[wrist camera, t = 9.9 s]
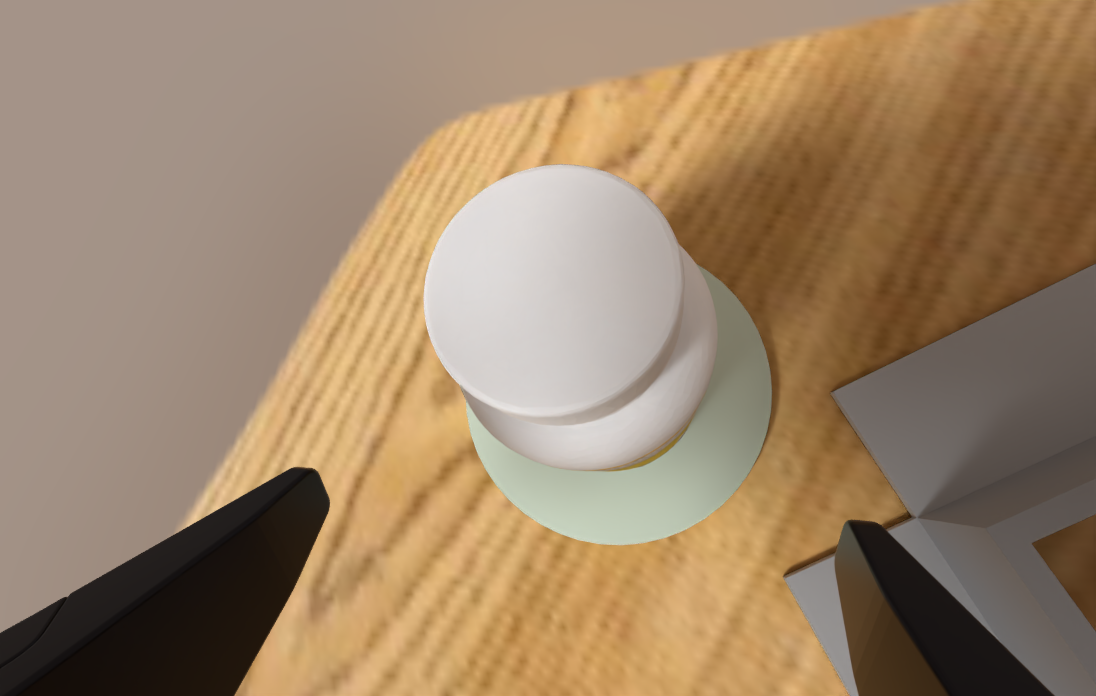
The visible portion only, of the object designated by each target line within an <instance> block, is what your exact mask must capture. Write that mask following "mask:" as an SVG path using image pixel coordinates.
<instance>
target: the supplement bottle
mask: <svg viewBox="0 0 1096 696" xmlns="http://www.w3.org/2000/svg"><path fill="white" fill-rule="evenodd" d="M424 313H425V319H426V325H427V329H428V333H429V336H430V340H431V342H432V344H433V347H434V349H435V351H436V354H437V356H438V357H439V359H440V361H441V362H442V364H443V366H444V367H445V368H446V370H447V371H448V372H449V374H450V375H451V376H452V377H453V379H454V380H455V381H456V382H457V383H458V384H459V385H460V388H461V390H462V392H463V395H464V397H465V399H466V401H467V403H468V404H469V406H470V408H471V409H472V411H473V413H474V414H475V416H476V417H477V419H478V420H479V421H480V422H481V424H482V425H483V426H484V427H485V428H486V429H487V430H488V431H489V432H490V433H491V434H492V435H493V436H494V437H495V438H496V439H497V440H499V441H500V442H501V443H502V444H504V445H505V446H506V447H508V448H509V449H511V450H513V451H515V452H516V453H518V454H520V455H522V456H524V457H526V458H528V459H530V460H533V461H535V462H538V463H541V464H544V465H548V466H551V467H555V468H560V469H566V470H576V471H608V472H610V471H623V470H629V469H633V468H637V467H642V466H644V465H646V464H648V463H651V462H653V461H654V460H656V459H658V458H659V457H661V456H662V455H663V454H665V453H666V452H668V451H669V450H670V449H671V448H672V447H673V446H674V445H675V444H676V443H677V442H678V441H679V440H680V439H681V438H682V437H683V435H684V434H685V432H686V431H687V429H688V427H689V425H690V423H691V421H692V419H693V417H694V415H695V413H696V411H697V409H698V407H699V405H700V403H701V401H702V399H703V397H704V395H705V393H706V390H707V388H708V386H709V382H710V379H711V375H712V372H713V368H714V363H715V358H716V351H717V340H718V331H717V319H716V312H715V308H714V304H713V300H712V296H711V293H710V291H709V288H708V286H707V283H706V280H705V278H704V277H703V275H702V273H701V271H700V270H699V268H698V266H697V265H696V263H695V262H694V260H693V259H692V258H691V257H690V255H689V254H688V253H687V252H686V251H685V250H684V248H683V247H681V246H680V245H679V244H678V242H677V239H676V237H675V235H674V233H673V231H672V228H671V226H670V225H669V223H668V221H667V219H666V218H665V216H664V215H663V213H662V212H661V211H660V210H659V208H658V207H657V206H656V205H655V204H654V203H653V201H652V200H651V199H650V198H648V197H647V196H646V195H645V194H644V193H643V192H642V191H640V190H639V189H638V188H636V187H635V186H634V185H632V184H630V183H628V182H627V181H625V180H623V179H622V178H620V177H618V176H615V175H613V174H610V173H608V172H605V171H602V170H599V169H596V168H591V167H587V166H579V165H568V164H557V165H547V166H540V167H535V168H530V169H527V170H524V171H521V172H517V173H515V174H512V175H509V176H507V177H505V178H503V179H500V180H498V181H497V182H495V183H493V184H492V185H490V186H489V187H487V188H485V189H484V190H482V191H481V192H480V193H478V194H477V195H476V196H474V197H473V198H472V199H471V200H470V201H469V202H468V203H467V204H466V205H465V206H464V207H463V208H462V209H461V210H460V211H459V212H458V213H457V214H456V215H455V217H454V218H453V219H452V220H451V222H450V223H449V224H448V226H447V227H446V229H445V230H444V232H443V234H442V235H441V237H440V239H439V240H438V243H437V245H436V247H435V250H434V252H433V254H432V257H431V260H430V263H429V266H428V270H427V273H426V279H425V287H424Z"/></svg>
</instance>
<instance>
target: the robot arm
mask: <svg viewBox="0 0 1096 696" xmlns="http://www.w3.org/2000/svg"><path fill="white" fill-rule="evenodd" d="M329 507H330V499H329V496H328V494H327V492H326V489H325V487H324V484H323V482H322V480H321V477H320V475H319V473H318V472H317V471H316V470H315V469H313V468H305V467H294V468H291V469H289V470H287V471H285V472H284V473H282V474H280V475H278V476H277V477H275V478H273V479H271V480H269V481H268V482H266V483H264V484H262V485H261V486H259V487H257V488H255V489H254V490H252V491H250V492H248V493H247V494H245V495H243V496H241V497H240V498H238V499H236V500H234V501H233V502H231V503H229V504H227V505H226V506H224V507H222V508H220V509H218V510H217V511H215V512H213V513H211V514H210V515H208V516H206V517H204V518H203V519H201V520H199V521H197V522H196V523H194V524H192V525H190V526H189V527H187V528H185V529H183V530H182V531H180V532H178V533H176V534H174V535H173V536H171V537H169V538H167V539H166V540H164V541H162V542H160V543H159V544H157V545H155V546H153V547H152V548H150V549H148V550H146V551H145V552H143V553H141V554H139V555H138V556H136V557H134V558H132V559H131V560H129V561H127V562H125V563H124V564H122V565H120V566H118V567H116V568H115V569H113V570H111V571H109V572H108V573H106V574H104V575H102V576H101V577H99V578H97V579H95V580H94V581H92V582H90V583H88V584H87V585H85V586H83V587H81V588H80V589H78V590H76V591H74V592H72V593H71V594H70V595H69V596H68V597H64V598H62V599H60V600H58V601H57V602H55V603H53V604H51V605H49V606H48V607H46V608H44V609H43V610H41V611H39V612H37V613H35V614H34V615H32V616H30V617H28V618H26V619H25V620H23V621H21V622H20V623H17V624H16V625H14V626H12V627H10V628H8V629H7V630H5V631H3V632H1V633H0V696H234V695H235V694H236V692H237V690H238V688H239V686H240V685H241V683H242V681H243V679H244V677H245V676H246V674H247V672H248V670H249V669H250V667H251V665H252V663H253V661H254V660H255V658H256V656H257V654H258V652H259V651H260V649H261V647H262V645H263V644H264V642H265V640H266V638H267V636H268V635H269V633H270V631H271V629H272V627H273V626H274V624H275V622H276V620H277V619H278V617H279V615H280V613H281V611H282V610H283V608H284V606H285V604H286V603H287V601H288V599H289V597H290V595H291V593H292V591H293V589H294V587H295V585H296V583H297V581H298V579H299V577H300V575H301V572H302V570H303V568H304V566H305V563H306V561H307V559H308V557H309V554H310V552H311V550H312V548H313V545H314V543H315V541H316V539H317V537H318V534H319V532H320V530H321V528H322V525H323V523H324V521H325V519H326V516H327V514H328V511H329ZM834 566H835V574H836V580H837V586H838V592H839V597H840V603H841V609H842V615H843V620H844V626H845V632H846V637H847V643H848V649H849V655H850V660H851V665H852V670H853V676H854V680H855V684H856V687H857V691H858V695H859V696H1055V695H1054V694H1053V693H1052V692H1051V691H1050V690H1049V689H1048V688H1046V687H1045V686H1044V685H1043V684H1042V683H1041V682H1040V681H1039V680H1038V679H1037V678H1036V677H1035V676H1034V675H1033V674H1032V673H1031V672H1030V671H1029V670H1028V669H1027V668H1026V667H1025V666H1024V665H1023V664H1022V663H1021V662H1020V661H1019V660H1018V659H1017V658H1016V657H1015V656H1014V655H1013V654H1012V653H1011V652H1010V651H1009V650H1008V649H1007V648H1006V647H1005V646H1004V645H1003V644H1002V643H1001V642H1000V641H999V640H998V639H997V638H996V637H995V636H994V635H993V634H992V633H990V632H989V631H988V630H987V629H986V628H985V627H984V626H983V625H982V624H981V623H980V622H979V621H978V620H977V619H976V618H975V617H974V616H973V615H972V614H971V613H970V612H969V611H968V610H967V609H966V608H965V607H964V606H963V605H962V604H961V603H960V602H959V601H958V600H957V599H956V598H955V597H954V596H953V595H952V594H951V593H950V592H949V591H948V590H947V589H946V588H945V587H944V586H943V585H942V584H941V583H940V582H939V581H938V580H937V579H936V578H935V577H933V576H932V575H931V574H930V573H929V572H928V571H927V570H926V569H925V568H924V567H923V566H922V565H921V564H920V563H919V562H918V561H917V560H916V559H915V558H914V557H913V556H912V555H911V554H910V553H909V552H908V551H907V550H906V549H905V548H904V547H903V546H902V545H901V544H900V543H899V542H898V541H897V540H896V539H895V538H894V537H893V536H892V535H891V534H890V533H889V532H888V531H887V530H886V529H885V528H884V527H882V526H881V525H880V524H878V523H876V522H871V521H860V520H848V521H846V522H845V524H844V526H843V529H842V533H841V536H840V540H839V543H838V546H837V550H836V553H835V560H834Z"/></svg>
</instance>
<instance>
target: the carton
mask: <svg viewBox="0 0 1096 696" xmlns="http://www.w3.org/2000/svg"><path fill="white" fill-rule="evenodd" d="M830 394H831V396H832V397H833V399H834V400H835V402H836V403H837V405H838V406H839V408H840V409H841V411H842V412H843V414H844V415H845V417H846V418H847V420H848V421H849V423H850V424H851V426H852V427H853V429H854V430H855V432H856V433H857V435H858V436H859V438H860V439H861V441H862V442H863V444H864V445H865V447H866V448H867V450H868V451H869V453H870V454H871V456H872V457H873V459H874V460H875V462H876V463H877V465H878V466H879V468H880V469H881V471H882V472H883V474H884V475H885V477H886V478H887V480H888V481H889V483H890V484H891V486H892V488H893V489H894V491H895V492H896V494H897V495H898V497H899V498H900V500H901V501H902V503H903V504H904V506H905V507H906V509H907V510H908V512H909V513H910V515H911V516H912V518H909V519H907V520H905V521H903V522H901V523H898V524H896V525H894V526H892V527H890V528H888V529H886V530H887V531H888V532H889V533H890V534H891V535H892V536H893V537H894V538H895V539H896V540H897V541H898V542H899V543H900V544H901V545H902V546H903V547H904V548H905V549H906V550H907V551H908V552H909V553H910V554H911V555H912V556H913V557H914V558H915V559H916V560H917V561H918V562H919V563H920V564H921V565H922V566H923V567H924V568H925V569H926V570H927V571H928V572H929V573H930V574H931V575H932V576H933V577H935V578H936V579H937V580H938V581H939V582H940V583H941V584H942V585H943V586H944V587H945V588H946V589H947V590H948V591H949V592H950V593H951V594H952V595H953V596H954V597H955V598H956V599H957V600H958V601H959V602H960V603H961V604H962V605H963V606H964V607H965V608H966V609H967V610H968V611H969V612H970V613H971V614H972V615H973V616H974V617H975V618H976V619H977V620H978V621H979V622H980V623H981V624H982V625H983V626H984V627H985V628H986V629H987V630H988V631H989V632H990V633H992V634H993V635H994V636H995V637H996V638H997V639H998V640H999V641H1000V642H1001V643H1002V644H1003V645H1004V646H1005V647H1006V648H1007V649H1008V650H1009V651H1010V652H1011V653H1012V654H1013V655H1014V656H1015V657H1016V658H1017V659H1018V660H1019V661H1020V662H1021V663H1022V664H1023V665H1024V666H1025V667H1026V668H1027V669H1028V670H1029V671H1030V672H1031V673H1032V674H1033V675H1034V676H1035V677H1036V678H1037V679H1038V680H1039V681H1040V682H1041V683H1042V684H1043V685H1044V686H1045V687H1046V688H1048V689H1049V690H1050V691H1051V692H1052V693H1053V694H1054V695H1055V696H1096V631H1095V630H1094V629H1093V627H1092V626H1091V624H1090V623H1089V622H1088V620H1087V619H1086V618H1085V616H1084V615H1083V613H1082V612H1081V611H1080V609H1079V608H1078V607H1077V605H1076V604H1075V603H1074V601H1073V600H1072V598H1071V597H1070V596H1069V594H1068V593H1067V592H1066V590H1065V589H1064V587H1063V586H1062V585H1061V583H1060V582H1059V581H1058V579H1057V578H1056V576H1055V575H1054V574H1053V572H1052V571H1051V570H1050V568H1049V567H1048V565H1047V564H1046V563H1045V561H1044V560H1043V559H1042V557H1041V556H1040V555H1039V553H1038V552H1037V550H1036V549H1035V548H1034V546H1033V545H1032V544H1031V543H1033V542H1035V541H1037V540H1039V539H1042V538H1044V537H1046V536H1048V535H1051V534H1053V533H1055V532H1057V531H1060V530H1062V529H1064V528H1066V527H1069V526H1071V525H1073V524H1075V523H1078V522H1080V521H1082V520H1084V519H1087V518H1089V517H1091V516H1093V515H1095V514H1096V264H1094V265H1092V266H1090V267H1088V268H1086V269H1084V270H1082V271H1080V272H1078V273H1076V274H1074V275H1072V276H1069V277H1067V278H1065V279H1063V280H1061V281H1059V282H1057V283H1055V284H1053V285H1051V286H1049V287H1047V288H1045V289H1043V290H1041V291H1039V292H1037V293H1035V294H1032V295H1030V296H1028V297H1026V298H1024V299H1022V300H1020V301H1018V302H1016V303H1014V304H1012V305H1010V306H1008V307H1006V308H1004V309H1002V310H1000V311H998V312H996V313H993V314H991V315H989V316H987V317H985V318H983V319H981V320H979V321H977V322H975V323H973V324H971V325H969V326H967V327H965V328H963V329H961V330H959V331H956V332H954V333H952V334H950V335H948V336H946V337H944V338H942V339H940V340H938V341H936V342H934V343H932V344H930V345H928V346H926V347H924V348H922V349H920V350H917V351H915V352H913V353H911V354H909V355H907V356H905V357H903V358H901V359H899V360H897V361H895V362H893V363H891V364H889V365H887V366H885V367H883V368H880V369H878V370H876V371H874V372H872V373H870V374H868V375H866V376H864V377H862V378H860V379H858V380H856V381H854V382H852V383H850V384H848V385H846V386H843V387H841V388H839V389H837V390H835V391H833V392H831V393H830ZM835 553H836V552H835ZM835 553H833V554H831V555H829V556H827V557H824V558H822V559H820V560H818V561H816V562H814V563H811V564H809V565H807V566H805V567H803V568H801V569H798V570H796V571H794V572H792V573H790V574H787V575H785V576H783V578H784V580H785V581H786V583H787V585H788V587H789V589H790V590H791V592H792V594H793V596H794V597H795V599H796V601H797V603H798V605H799V606H800V608H801V610H802V612H803V613H804V615H805V617H806V619H807V621H808V622H809V624H810V626H811V628H812V630H813V631H814V633H815V635H816V637H817V638H818V640H819V642H820V644H821V646H822V647H823V649H824V651H825V653H826V654H827V656H828V658H829V660H830V662H831V663H832V665H833V667H834V669H835V670H836V672H837V674H838V676H839V678H840V679H841V681H842V683H843V685H844V686H845V688H846V690H847V692H848V694H849V695H850V696H859V695H858V691H857V687H856V684H855V680H854V676H853V670H852V665H851V660H850V655H849V649H848V643H847V637H846V632H845V626H844V620H843V615H842V609H841V603H840V597H839V592H838V586H837V580H836V574H835V566H834V560H835Z"/></svg>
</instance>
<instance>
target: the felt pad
mask: <svg viewBox="0 0 1096 696" xmlns="http://www.w3.org/2000/svg"><path fill="white" fill-rule="evenodd" d="M696 265H697V264H696ZM697 266H698V268H699V270H700V271H701V273H702V275H703V277H704V278H705V280H706V283H707V286H708V288H709V291H710V293H711V296H712V300H713V304H714V308H715V312H716V319H717V331H718V340H717V351H716V358H715V363H714V368H713V372H712V375H711V379H710V382H709V386H708V388H707V390H706V393H705V395H704V397H703V399H702V401H701V403H700V405H699V407H698V409H697V411H696V413H695V415H694V417H693V419H692V421H691V423H690V425H689V427H688V429H687V431H686V432H685V434H684V435H683V437H682V438H681V439H680V440H679V441H678V442H677V443H676V444H675V445H674V446H673V447H672V448H671V449H670V450H669V451H668V452H666V453H665V454H663V455H662V456H661V457H659V458H658V459H656V460H654V461H653V462H651V463H648V464H646V465H644V466H642V467H637V468H633V469H629V470H623V471H610V472H608V471H576V470H566V469H560V468H555V467H551V466H548V465H544V464H541V463H538V462H535V461H533V460H530V459H528V458H526V457H524V456H522V455H520V454H518V453H516V452H515V451H513V450H511V449H509V448H508V447H506V446H505V445H504V444H502V443H501V442H500V441H499V440H497V439H496V438H495V437H494V436H493V435H492V434H491V433H490V432H489V431H488V430H487V429H486V428H485V427H484V426H483V425H482V424H481V422H480V421H479V420H478V419H477V417H476V416H475V414H474V413H473V411H472V409H471V408H470V406H469V404H468V403H467V401H466V408H467V417H468V422H469V427H470V433H471V436H472V439H473V442H474V445H475V448H476V451H477V453H478V455H479V457H480V459H481V461H482V463H483V465H484V467H485V469H486V471H487V472H488V474H489V475H490V477H491V478H492V480H493V481H494V483H495V484H496V485H497V487H498V488H499V489H500V490H501V491H502V492H503V494H504V495H505V496H506V497H507V498H508V499H509V500H510V501H511V502H512V503H513V504H514V505H515V506H516V507H518V508H519V509H520V510H521V511H522V512H523V513H525V514H526V515H528V516H529V517H530V518H532V519H533V520H535V521H536V522H538V523H539V524H541V525H543V526H545V527H547V528H549V529H551V530H553V531H555V532H557V533H559V534H562V535H565V536H568V537H571V538H574V539H577V540H581V541H586V542H592V543H597V544H609V545H628V544H639V543H646V542H650V541H654V540H658V539H663V538H666V537H669V536H671V535H674V534H676V533H679V532H681V531H684V530H686V529H688V528H689V527H691V526H693V525H695V524H697V523H698V522H700V521H702V520H704V519H705V518H706V517H708V516H709V515H710V514H712V513H713V512H714V511H715V510H717V509H718V508H719V507H721V506H722V505H723V504H724V503H725V502H726V501H727V500H728V499H729V498H730V497H731V495H732V494H733V493H734V492H735V491H736V490H737V489H738V488H739V486H740V485H741V484H742V482H743V481H744V479H745V478H746V477H747V475H748V474H749V472H750V471H751V469H752V467H753V465H754V463H755V461H756V459H757V457H758V455H759V453H760V451H761V448H762V445H763V442H764V439H765V437H766V434H767V429H768V424H769V419H770V414H771V402H772V384H771V373H770V367H769V363H768V358H767V354H766V350H765V347H764V345H763V342H762V339H761V337H760V334H759V332H758V329H757V328H756V326H755V324H754V322H753V320H752V319H751V317H750V315H749V313H748V312H747V310H746V309H745V308H744V306H743V305H742V304H741V302H740V301H739V300H738V298H737V297H736V296H735V295H734V294H733V293H732V292H731V291H730V290H729V289H728V288H727V287H726V286H725V285H724V284H723V283H722V282H721V281H720V280H719V279H717V278H716V277H715V276H714V275H712V274H711V273H710V272H708V271H707V270H706V269H704V268H702V267H701V266H699V265H697Z"/></svg>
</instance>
